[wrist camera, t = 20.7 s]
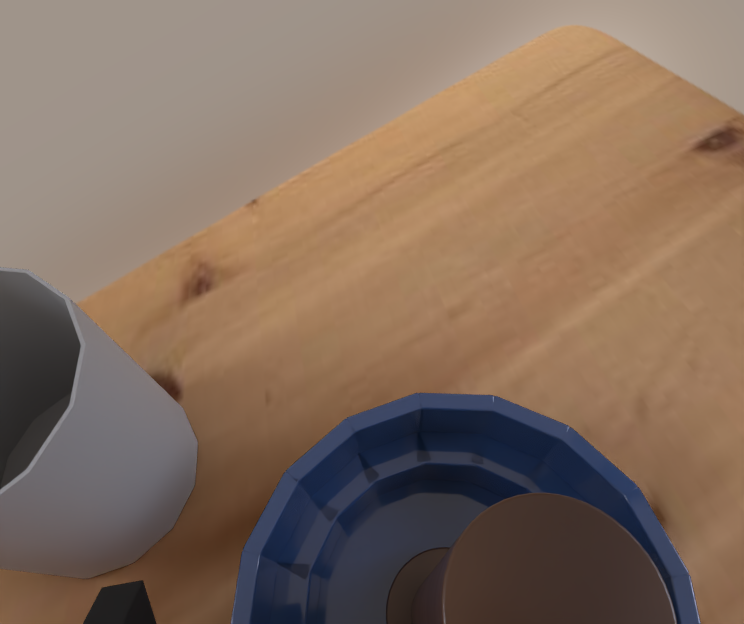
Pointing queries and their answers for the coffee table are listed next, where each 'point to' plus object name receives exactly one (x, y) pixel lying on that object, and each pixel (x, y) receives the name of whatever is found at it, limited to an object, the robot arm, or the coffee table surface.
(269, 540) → the bowl
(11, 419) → the cup
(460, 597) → the cylinder with round base
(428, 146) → the coffee table surface
